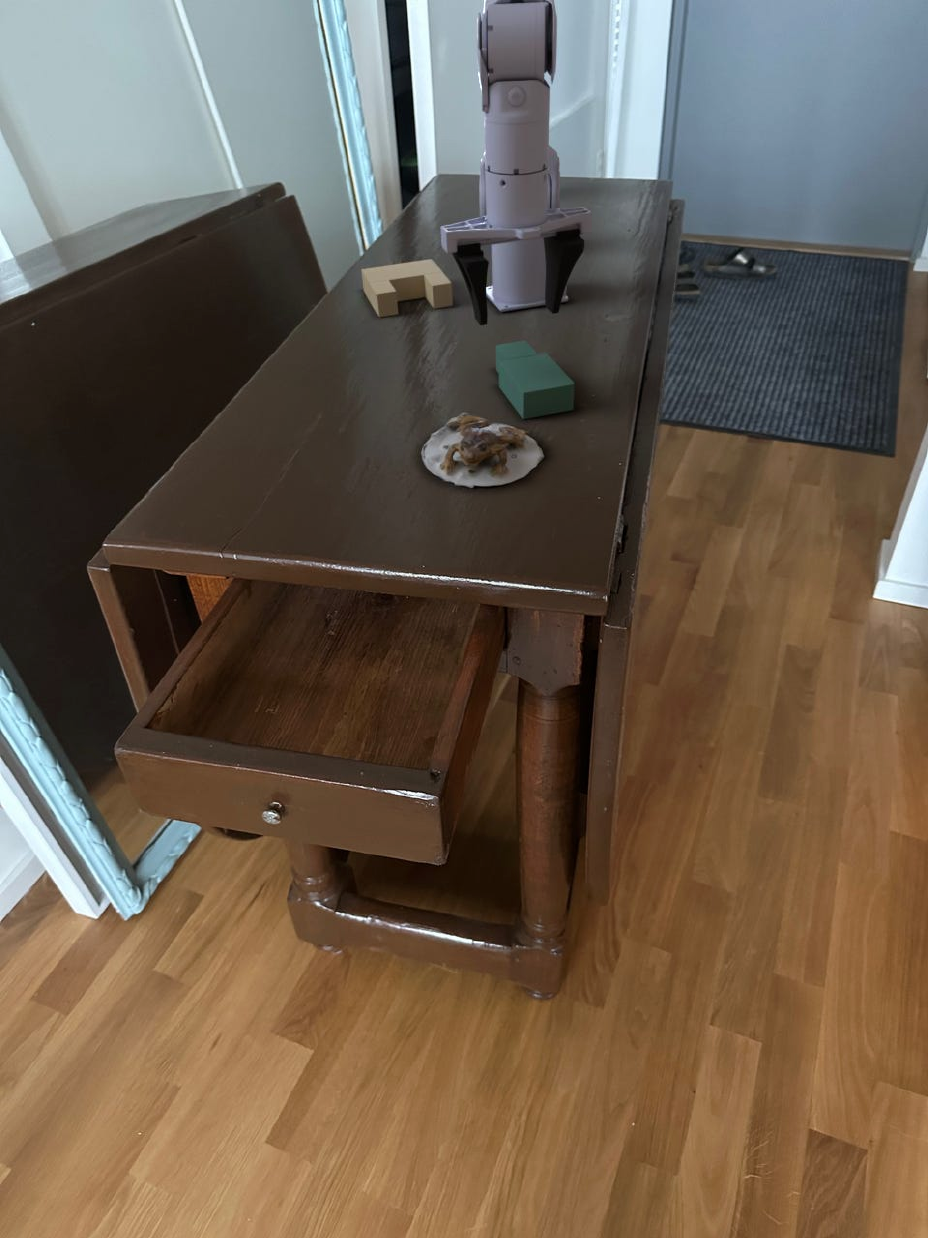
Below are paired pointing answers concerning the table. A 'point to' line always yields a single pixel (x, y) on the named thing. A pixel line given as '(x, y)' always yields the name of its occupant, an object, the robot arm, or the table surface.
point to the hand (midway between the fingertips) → (516, 315)
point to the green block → (533, 381)
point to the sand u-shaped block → (406, 285)
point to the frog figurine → (480, 452)
